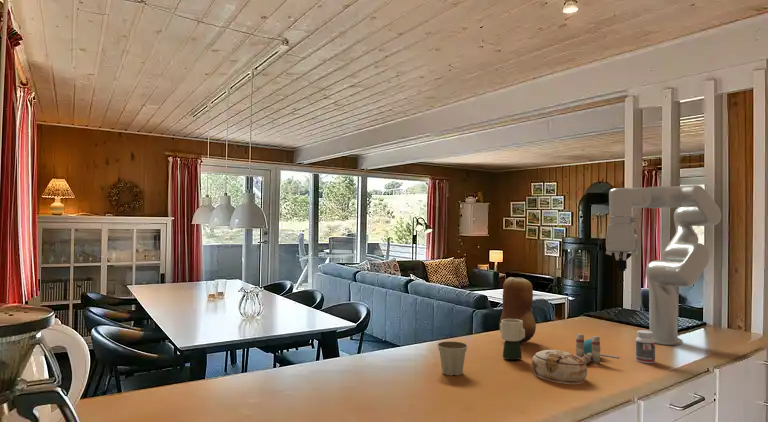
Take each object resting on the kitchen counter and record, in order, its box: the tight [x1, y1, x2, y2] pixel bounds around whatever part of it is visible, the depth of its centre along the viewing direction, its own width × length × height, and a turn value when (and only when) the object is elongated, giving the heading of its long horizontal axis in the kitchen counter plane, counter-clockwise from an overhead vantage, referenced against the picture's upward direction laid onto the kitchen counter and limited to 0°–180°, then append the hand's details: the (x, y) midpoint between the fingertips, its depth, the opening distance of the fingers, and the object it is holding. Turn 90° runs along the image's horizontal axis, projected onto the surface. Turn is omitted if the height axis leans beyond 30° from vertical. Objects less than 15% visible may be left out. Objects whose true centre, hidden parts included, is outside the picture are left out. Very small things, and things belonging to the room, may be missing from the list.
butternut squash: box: [498, 276, 537, 345], centre depth 189 cm, size 14×13×25 cm
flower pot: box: [436, 340, 469, 377], centre depth 150 cm, size 9×9×9 cm
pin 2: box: [591, 335, 601, 365], centre depth 161 cm, size 2×2×8 cm
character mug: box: [499, 319, 525, 361], centre depth 166 cm, size 11×7×13 cm, turn 32°
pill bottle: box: [635, 329, 656, 364], centre depth 163 cm, size 6×6×10 cm
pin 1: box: [575, 333, 585, 358], centre depth 165 cm, size 2×2×8 cm
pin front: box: [581, 353, 592, 365], centre depth 161 cm, size 2×2×8 cm
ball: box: [584, 338, 592, 355], centre depth 169 cm, size 6×6×6 cm
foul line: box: [600, 353, 620, 359], centre depth 171 cm, size 1×14×1 cm, turn 52°
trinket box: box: [531, 349, 588, 385], centre depth 146 cm, size 13×15×8 cm
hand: (621, 270), depth 181 cm, fingers closed
